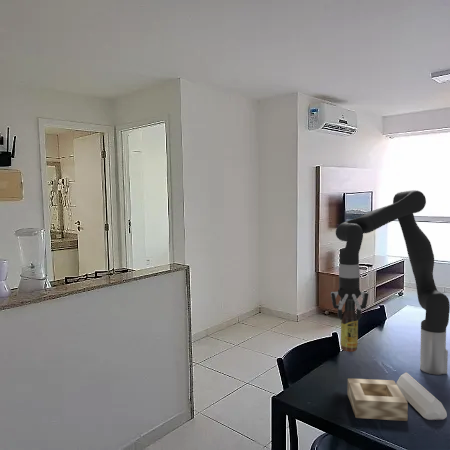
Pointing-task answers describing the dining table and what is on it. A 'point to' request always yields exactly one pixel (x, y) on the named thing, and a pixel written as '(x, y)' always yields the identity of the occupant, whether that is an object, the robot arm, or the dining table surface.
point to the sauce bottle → (349, 328)
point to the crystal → (421, 398)
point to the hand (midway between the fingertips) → (349, 318)
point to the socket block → (377, 399)
